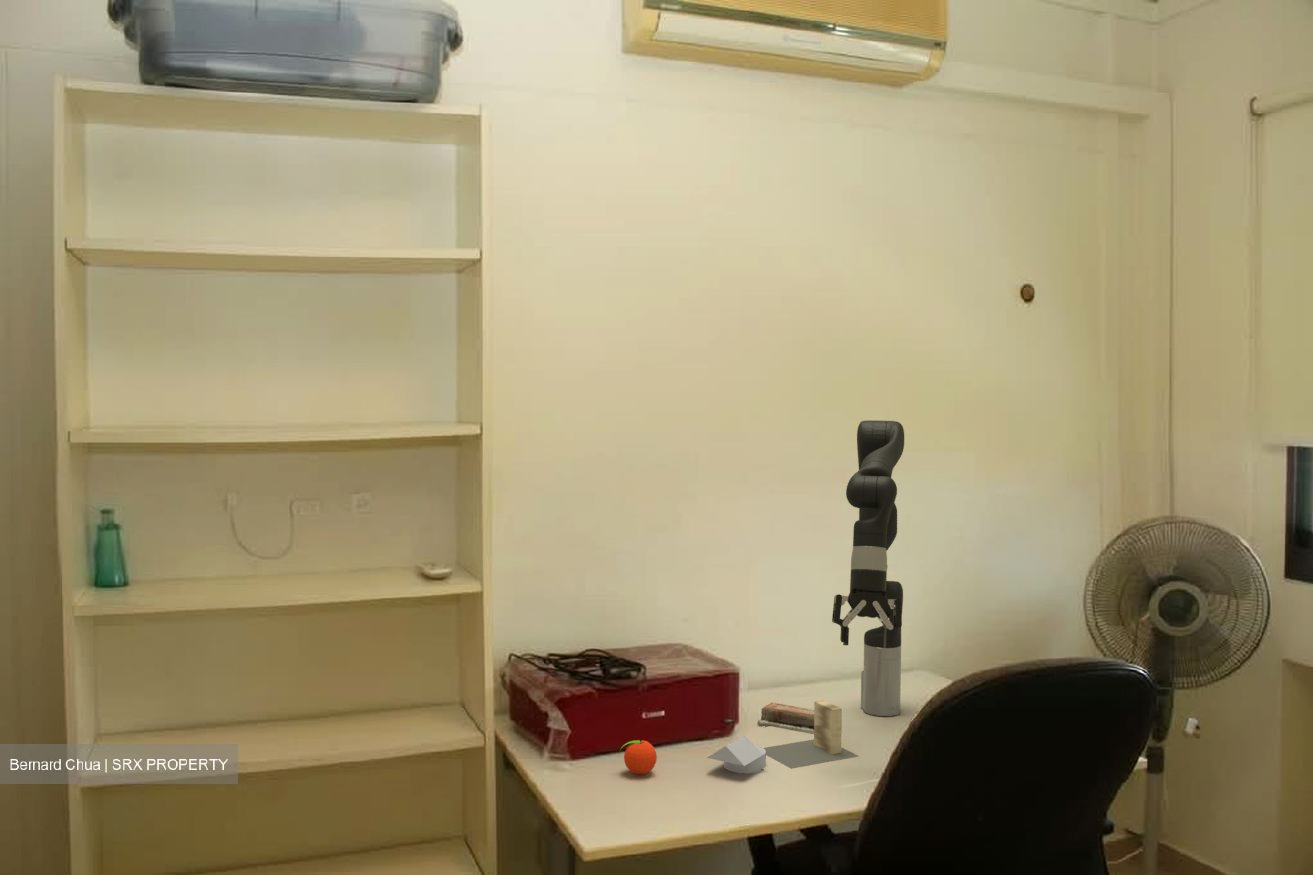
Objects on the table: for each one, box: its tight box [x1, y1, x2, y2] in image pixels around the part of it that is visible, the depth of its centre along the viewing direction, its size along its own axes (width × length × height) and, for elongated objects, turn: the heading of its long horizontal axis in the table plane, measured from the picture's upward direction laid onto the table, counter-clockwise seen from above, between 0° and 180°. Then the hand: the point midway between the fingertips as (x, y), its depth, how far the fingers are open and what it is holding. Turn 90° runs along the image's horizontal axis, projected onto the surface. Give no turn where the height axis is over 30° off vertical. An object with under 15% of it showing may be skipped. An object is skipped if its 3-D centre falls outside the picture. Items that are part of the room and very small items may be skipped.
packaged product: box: [756, 702, 814, 735], centre depth 265 cm, size 18×5×10 cm
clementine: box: [619, 739, 658, 775], centre depth 232 cm, size 8×7×7 cm
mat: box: [763, 738, 859, 769], centre depth 244 cm, size 14×18×1 cm
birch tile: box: [813, 700, 843, 754], centre depth 246 cm, size 7×2×10 cm, turn 27°
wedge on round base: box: [707, 735, 767, 774], centre depth 235 cm, size 9×7×13 cm
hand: (865, 646), depth 230 cm, fingers open, 8 cm apart
